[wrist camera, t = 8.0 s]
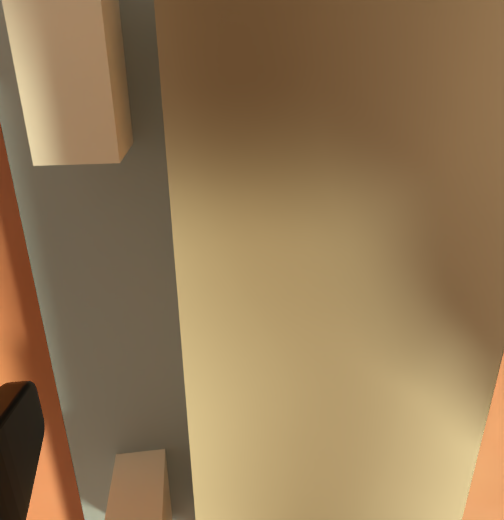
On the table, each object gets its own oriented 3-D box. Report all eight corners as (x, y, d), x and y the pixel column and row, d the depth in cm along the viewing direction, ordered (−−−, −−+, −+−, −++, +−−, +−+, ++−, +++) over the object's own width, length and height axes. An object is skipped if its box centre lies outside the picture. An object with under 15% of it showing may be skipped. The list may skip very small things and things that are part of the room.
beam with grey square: (397, -47, 8) (697, -211, 3) (340, 523, 13) (422, 758, 9) (162, -54, 7) (129, -254, 3) (204, 542, 13) (217, 802, 8)
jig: (549, -304, 8) (795, -551, 5) (398, 544, 17) (449, 658, 13) (-65, -371, 7) (-290, -770, 4) (115, 585, 15) (98, 722, 12)
